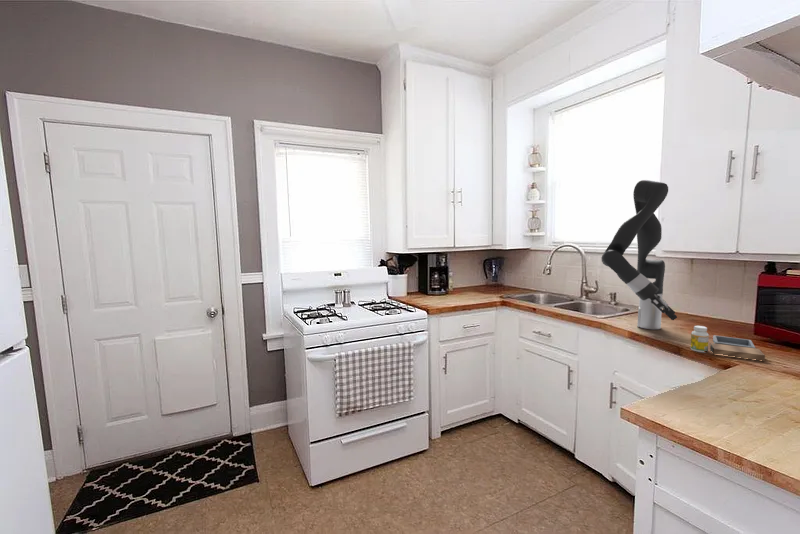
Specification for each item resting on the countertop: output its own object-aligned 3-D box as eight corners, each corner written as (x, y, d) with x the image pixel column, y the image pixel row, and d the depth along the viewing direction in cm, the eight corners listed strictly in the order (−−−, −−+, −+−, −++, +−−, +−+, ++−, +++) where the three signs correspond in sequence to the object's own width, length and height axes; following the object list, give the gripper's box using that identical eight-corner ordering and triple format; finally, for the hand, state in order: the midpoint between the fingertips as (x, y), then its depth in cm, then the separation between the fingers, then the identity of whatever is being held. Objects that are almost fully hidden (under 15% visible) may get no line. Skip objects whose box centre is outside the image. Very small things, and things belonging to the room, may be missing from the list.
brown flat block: (713, 355, 138) (713, 348, 138) (709, 348, 145) (709, 342, 145) (764, 361, 131) (765, 355, 130) (758, 355, 137) (758, 348, 137)
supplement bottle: (709, 353, 140) (711, 329, 139) (692, 351, 142) (694, 328, 141) (704, 349, 145) (706, 325, 144) (688, 347, 147) (690, 324, 146)
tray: (714, 348, 146) (715, 342, 145) (712, 340, 155) (713, 335, 154) (754, 354, 138) (755, 347, 138) (750, 345, 148) (750, 339, 147)
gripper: (650, 283, 144) (684, 314, 139) (649, 278, 156) (681, 307, 151) (634, 295, 148) (667, 326, 143) (634, 289, 159) (664, 318, 154)
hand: (674, 316), depth 147 cm, fingers open, 8 cm apart
